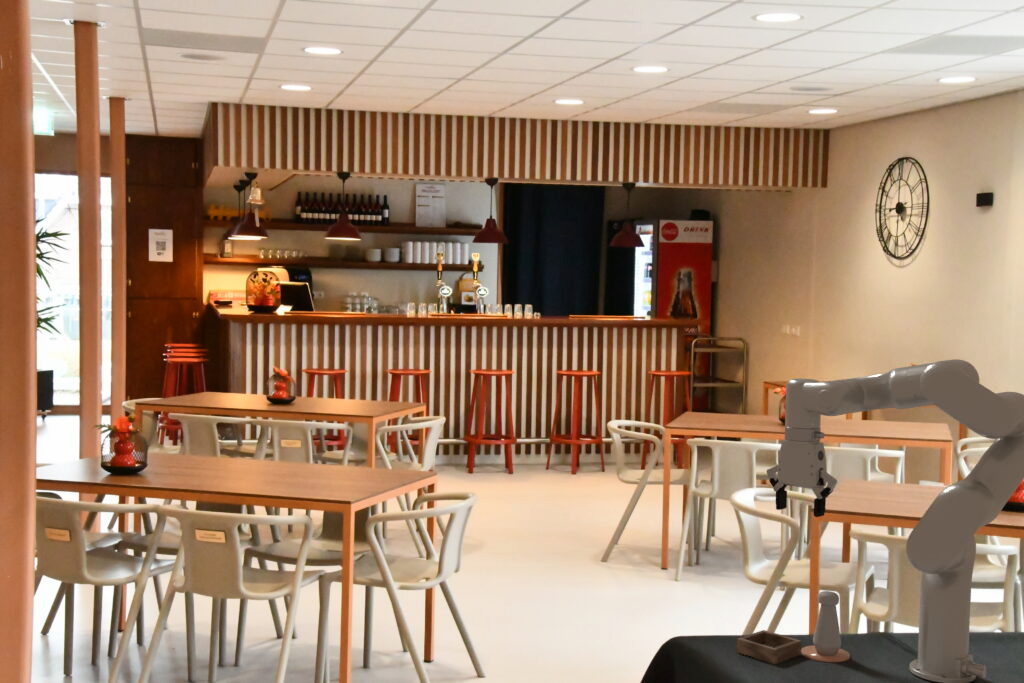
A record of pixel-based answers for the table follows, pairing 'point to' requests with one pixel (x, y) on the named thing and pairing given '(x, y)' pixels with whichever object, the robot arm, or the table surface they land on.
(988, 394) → the robot arm
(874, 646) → the table surface
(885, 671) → the table surface
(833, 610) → the salt shaker
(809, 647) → the orange round disc
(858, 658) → the table surface
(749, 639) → the square wooden frame
